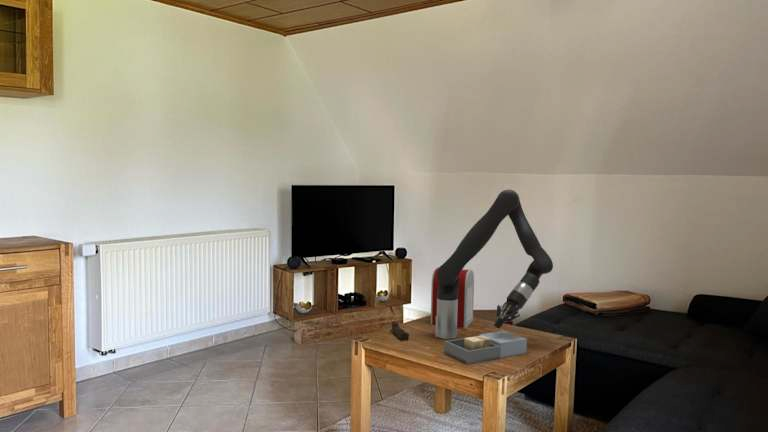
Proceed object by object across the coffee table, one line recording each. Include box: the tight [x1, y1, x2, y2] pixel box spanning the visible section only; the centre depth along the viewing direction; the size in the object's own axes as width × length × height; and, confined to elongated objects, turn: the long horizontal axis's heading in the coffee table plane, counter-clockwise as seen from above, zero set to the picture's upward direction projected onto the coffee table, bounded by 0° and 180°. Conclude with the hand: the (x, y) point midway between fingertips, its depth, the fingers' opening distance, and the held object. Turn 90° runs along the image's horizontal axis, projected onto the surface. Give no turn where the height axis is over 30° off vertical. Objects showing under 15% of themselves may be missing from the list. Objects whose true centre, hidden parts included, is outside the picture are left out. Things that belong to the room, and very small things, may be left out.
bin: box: [443, 337, 501, 365], centre depth 243 cm, size 16×16×5 cm
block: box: [463, 335, 491, 351], centre depth 243 cm, size 6×6×9 cm
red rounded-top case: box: [430, 266, 475, 329], centre depth 295 cm, size 16×18×27 cm
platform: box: [478, 330, 528, 359], centre depth 250 cm, size 14×14×6 cm
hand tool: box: [391, 321, 410, 342], centre depth 272 cm, size 19×4×5 cm, turn 13°
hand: (496, 327), depth 248 cm, fingers closed
